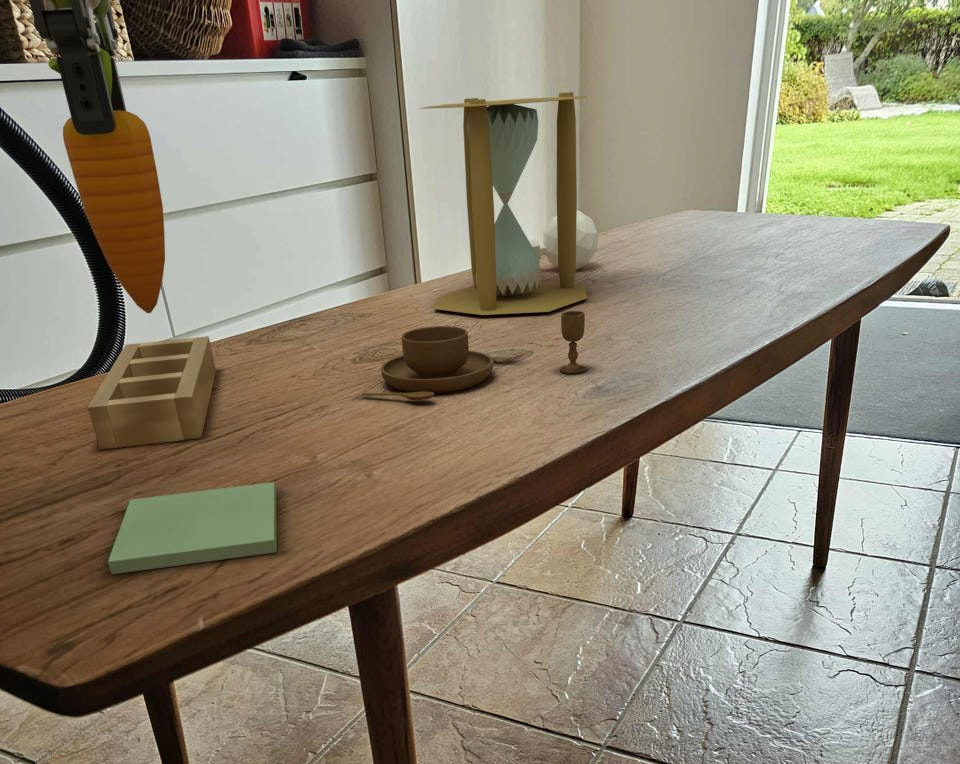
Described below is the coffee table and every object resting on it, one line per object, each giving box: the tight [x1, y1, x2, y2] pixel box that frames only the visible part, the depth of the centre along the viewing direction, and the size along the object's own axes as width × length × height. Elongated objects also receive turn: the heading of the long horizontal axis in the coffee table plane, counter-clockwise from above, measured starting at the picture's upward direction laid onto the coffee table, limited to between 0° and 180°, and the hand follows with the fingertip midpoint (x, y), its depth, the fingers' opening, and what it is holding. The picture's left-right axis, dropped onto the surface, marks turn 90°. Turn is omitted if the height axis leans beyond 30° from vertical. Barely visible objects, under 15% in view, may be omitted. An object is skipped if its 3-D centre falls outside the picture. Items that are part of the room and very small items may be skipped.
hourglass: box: [417, 91, 588, 316], centre depth 122 cm, size 24×22×25 cm
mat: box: [107, 481, 278, 575], centre depth 65 cm, size 11×11×1 cm
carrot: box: [48, 47, 166, 314], centre depth 55 cm, size 5×5×15 cm
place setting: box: [360, 310, 587, 401], centre depth 93 cm, size 18×20×6 cm
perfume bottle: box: [529, 210, 599, 271], centre depth 145 cm, size 9×9×12 cm
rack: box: [87, 335, 217, 451], centre depth 92 cm, size 9×24×4 cm, turn 11°
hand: (104, 130), depth 53 cm, fingers closed on carrot, 5 cm apart
